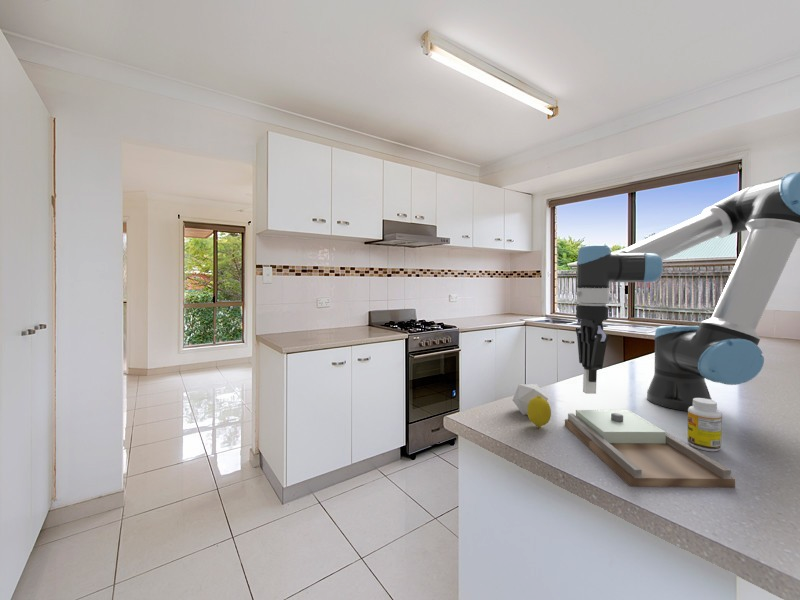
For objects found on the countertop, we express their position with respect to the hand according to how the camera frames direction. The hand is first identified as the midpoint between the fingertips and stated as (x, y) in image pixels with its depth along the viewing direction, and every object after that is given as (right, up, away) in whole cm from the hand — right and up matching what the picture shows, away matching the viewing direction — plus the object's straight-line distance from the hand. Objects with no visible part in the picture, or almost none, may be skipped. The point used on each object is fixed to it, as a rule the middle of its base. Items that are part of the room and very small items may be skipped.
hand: (589, 392), depth 94 cm
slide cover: (0, -6, -12) cm, 13 cm away
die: (-14, -7, +4) cm, 16 cm away
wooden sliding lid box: (0, -8, -18) cm, 20 cm away
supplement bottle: (+16, -8, -17) cm, 24 cm away
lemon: (-16, -7, -6) cm, 18 cm away
